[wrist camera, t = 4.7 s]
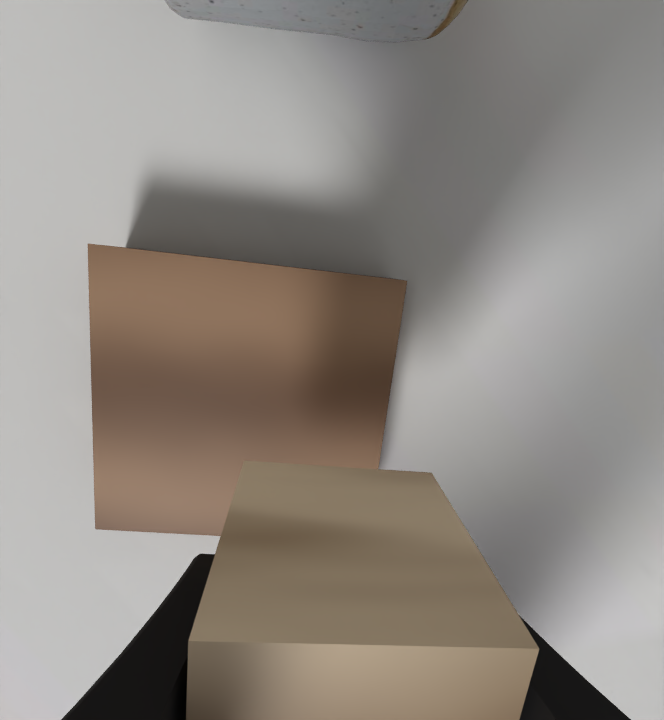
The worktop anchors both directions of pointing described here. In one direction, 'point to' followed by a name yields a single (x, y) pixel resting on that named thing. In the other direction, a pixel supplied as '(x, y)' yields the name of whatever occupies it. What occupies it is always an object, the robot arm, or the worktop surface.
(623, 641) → the worktop surface
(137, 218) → the worktop surface
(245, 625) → the oak cube
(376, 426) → the walnut block
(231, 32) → the worktop surface
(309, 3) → the ceramic mug
